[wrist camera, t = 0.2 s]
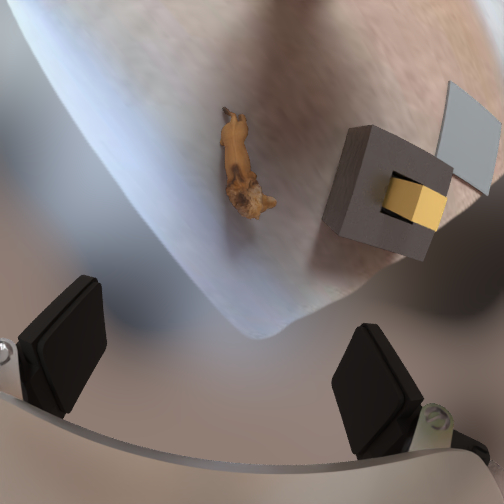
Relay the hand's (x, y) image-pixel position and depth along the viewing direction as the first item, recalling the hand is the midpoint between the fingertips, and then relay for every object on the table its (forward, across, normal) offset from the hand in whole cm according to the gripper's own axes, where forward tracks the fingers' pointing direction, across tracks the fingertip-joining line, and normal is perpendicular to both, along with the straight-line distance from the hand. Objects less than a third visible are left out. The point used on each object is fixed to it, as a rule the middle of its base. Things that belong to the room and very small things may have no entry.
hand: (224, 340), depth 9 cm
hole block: (+31, -20, -6) cm, 37 cm away
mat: (+31, -38, -20) cm, 53 cm away
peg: (+29, -20, -6) cm, 35 cm away
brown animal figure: (+31, +1, -5) cm, 32 cm away
